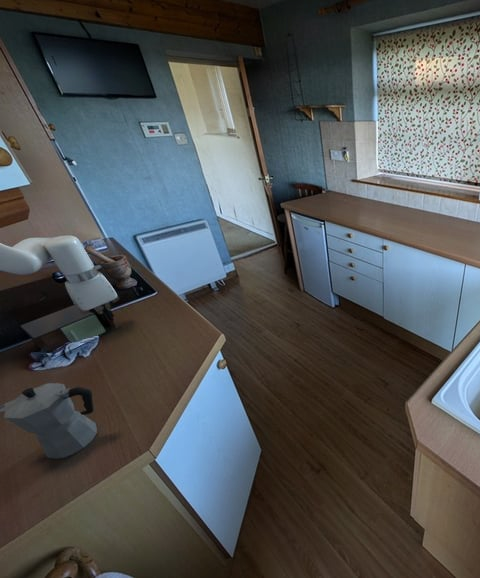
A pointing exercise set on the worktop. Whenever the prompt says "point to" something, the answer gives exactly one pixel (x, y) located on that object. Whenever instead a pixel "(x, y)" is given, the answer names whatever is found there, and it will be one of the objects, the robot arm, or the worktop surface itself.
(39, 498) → the worktop surface
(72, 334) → the sliding door
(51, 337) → the cupboard
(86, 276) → the robot arm
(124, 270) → the mortar and pestle
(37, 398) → the coffeepot
